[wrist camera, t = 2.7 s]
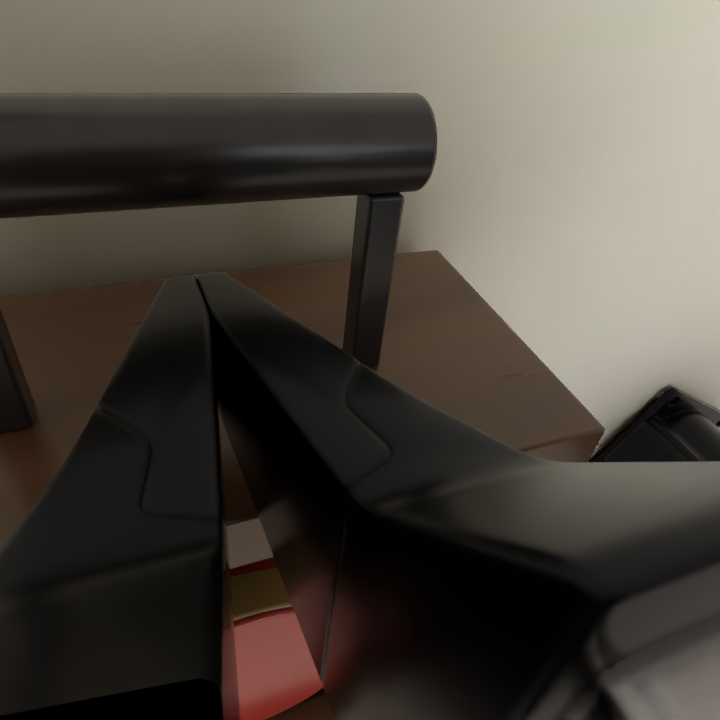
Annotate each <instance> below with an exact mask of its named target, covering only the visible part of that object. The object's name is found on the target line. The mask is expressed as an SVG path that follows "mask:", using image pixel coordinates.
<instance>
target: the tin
mask: <svg viewBox="0 0 720 720" xmlns="http://www.w3.org/2000/svg"><path fill="white" fill-rule="evenodd" d="M230 579H231V593H232V607H233V621H234V635H235V649H236V663H237V677H238V691H239V705H240V719H241V720H265V719H268V718H270V717H272V716H274V715H277V714H279V713H281V712H283V711H285V710H287V709H289V708H291V707H293V706H295V705H296V704H298V703H300V702H302V701H303V700H305V699H307V698H308V697H310V696H311V695H313V694H315V693H316V692H317V691H319V690H320V689H322V688H323V682H321V680H320V678H319V675H318V672H317V670H316V667H315V664H314V662H313V659H312V657H311V654H310V651H309V649H308V646H307V643H306V641H305V638H304V635H303V633H302V630H301V627H300V625H299V622H298V620H297V617H296V614H295V612H294V609H293V606H292V604H291V601H290V598H289V596H288V593H287V590H286V588H285V585H284V583H283V580H282V577H281V575H280V572H279V569H278V567H277V564H276V561H275V559H274V557H272V558H268V559H265V560H261V561H257V562H254V563H250V564H247V565H243V566H240V567H236V568H232V569H230Z"/></svg>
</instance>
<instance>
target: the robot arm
mask: <svg viewBox="0 0 720 720" xmlns="http://www.w3.org/2000/svg"><path fill="white" fill-rule="evenodd" d="M218 408H219V412H220V415H221V418H222V421H223V424H224V427H225V429H226V432H227V435H228V437H229V440H230V443H231V445H232V448H233V451H234V453H235V456H236V458H237V461H238V464H239V466H240V469H241V472H242V474H243V477H244V480H245V482H246V485H247V488H248V490H249V493H250V495H251V498H252V501H253V503H254V506H255V509H256V511H257V514H258V517H259V519H260V522H261V524H262V527H263V530H264V532H265V535H266V538H267V540H268V543H269V546H270V548H271V551H272V554H273V556H274V559H275V561H276V564H277V567H278V569H279V572H280V575H281V577H282V580H283V583H284V585H285V588H286V590H287V593H288V596H289V598H290V601H291V604H292V606H293V609H294V612H295V614H296V617H297V620H298V622H299V625H300V627H301V630H302V633H303V635H304V638H305V641H306V643H307V646H308V649H309V651H310V654H311V657H312V659H313V662H314V664H315V667H316V670H317V672H318V675H319V678H320V680H321V682H323V689H324V691H325V694H326V697H327V699H328V702H329V704H330V707H331V710H332V712H333V715H334V718H335V720H720V429H719V428H720V410H718V409H716V408H714V407H712V406H710V405H708V404H706V403H704V402H702V401H700V400H698V399H697V398H695V397H693V396H691V395H689V394H687V393H685V392H683V391H681V390H679V389H677V388H670V389H669V390H667V391H666V392H664V393H663V394H662V395H661V396H660V397H659V398H658V399H657V400H656V401H655V402H654V403H653V404H652V405H651V406H650V407H649V408H648V409H647V410H646V411H644V412H643V413H642V414H641V415H640V416H639V417H638V418H637V419H636V420H635V421H634V422H633V423H632V424H631V425H630V426H629V427H628V428H627V429H626V430H625V431H624V432H623V433H622V434H621V435H620V436H619V437H618V438H617V439H616V440H615V441H613V442H612V443H611V444H610V445H609V446H608V447H607V448H606V449H605V450H604V451H603V452H602V453H601V454H600V455H599V456H598V457H597V458H596V459H595V460H594V461H593V462H575V463H573V462H559V461H552V460H547V459H543V458H539V457H535V456H532V455H530V454H527V453H524V452H522V451H520V450H517V449H515V448H513V447H511V446H509V445H507V444H505V443H503V442H501V441H500V440H498V439H496V438H494V437H492V436H490V435H488V434H486V433H484V432H482V431H480V430H478V429H477V428H475V427H473V426H471V425H469V424H467V423H465V422H463V421H461V420H459V419H457V418H456V417H454V416H452V415H450V414H448V413H446V412H444V411H442V410H440V409H438V408H436V407H435V406H433V405H431V404H429V403H427V402H426V401H424V400H422V399H420V398H418V397H416V396H415V395H413V394H411V393H409V392H407V391H406V390H404V389H402V388H401V387H399V386H398V385H396V384H394V383H393V382H391V381H390V380H388V379H386V378H385V377H383V376H381V375H380V374H378V373H377V372H375V371H374V370H372V369H371V368H369V367H368V366H366V365H365V364H363V363H361V364H360V363H359V361H358V360H357V359H355V358H354V357H352V356H351V355H349V354H348V353H346V352H345V351H343V350H342V349H340V348H339V347H337V346H336V345H334V344H332V343H331V342H329V341H328V340H326V339H325V338H323V337H322V336H320V335H319V334H317V333H316V332H314V331H313V330H311V329H310V328H308V327H307V326H305V325H304V324H302V323H301V322H299V321H298V320H296V319H295V318H293V317H292V316H290V315H289V314H287V313H285V312H284V311H282V310H281V309H279V308H278V307H276V306H275V305H273V304H272V303H270V302H269V301H267V300H266V299H264V298H263V297H261V296H260V295H258V294H257V293H255V292H254V291H252V290H251V289H249V288H248V287H246V286H245V285H243V284H242V283H240V282H238V281H237V280H235V279H234V278H232V277H231V276H229V275H228V274H226V273H225V272H221V271H219V272H209V273H201V274H198V275H197V276H196V278H195V277H194V276H193V275H181V276H172V277H167V278H166V279H165V281H164V282H163V284H162V286H161V288H160V290H159V292H158V294H157V295H156V297H155V299H154V301H153V303H152V305H151V307H150V308H149V310H148V312H147V314H146V316H145V318H144V320H143V321H142V323H141V325H140V327H139V329H138V331H137V333H136V334H135V336H134V338H133V340H132V342H131V344H130V345H129V347H128V349H127V351H126V353H125V355H124V357H123V358H122V360H121V362H120V364H119V366H118V368H117V370H116V371H115V373H114V375H113V377H112V379H111V381H110V383H109V384H108V386H107V388H106V390H105V392H104V394H103V396H102V397H101V399H100V401H99V403H98V405H97V407H96V410H95V411H94V412H93V413H92V415H91V417H90V419H89V421H88V423H87V425H86V427H85V428H84V430H83V432H82V434H81V435H80V437H79V439H78V440H77V442H76V444H75V445H74V447H73V449H72V450H71V452H70V454H69V456H68V457H67V459H66V460H65V462H64V463H63V465H62V466H61V467H60V469H59V470H58V472H57V473H56V475H55V476H54V477H53V479H52V480H51V482H50V483H49V485H48V486H47V487H46V489H45V490H44V492H43V493H42V494H41V496H40V497H39V498H38V500H37V501H36V502H35V504H34V505H33V506H32V508H31V509H30V510H29V512H28V513H27V515H26V516H25V517H24V519H23V520H22V521H21V523H20V524H19V525H18V527H17V528H16V529H15V531H14V532H13V533H12V535H11V536H10V537H9V539H8V540H7V541H6V543H5V544H4V545H3V547H2V548H1V549H0V720H241V719H240V705H239V691H238V677H237V663H236V649H235V635H234V621H233V607H232V593H231V579H230V565H229V551H228V537H227V523H226V509H225V495H224V481H223V467H222V453H221V439H220V425H219V414H218Z"/></svg>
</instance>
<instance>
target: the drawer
mask: <svg viewBox="0 0 720 720" xmlns="http://www.w3.org/2000/svg"><path fill="white" fill-rule="evenodd" d="M436 153H437V130H436V123H435V118H434V114H433V111H432V109H431V106H430V104H429V103H428V101H427V100H426V99H425V98H424V97H423V96H421V95H419V94H417V93H78V94H0V219H2V218H17V217H33V216H48V215H63V214H78V213H93V212H108V211H124V210H139V209H154V208H169V207H184V206H199V205H215V204H230V203H245V202H260V201H275V200H290V199H306V198H321V197H336V196H351V195H358V196H357V206H356V217H355V227H354V237H353V247H352V257H351V259H349V260H339V261H330V262H320V263H311V264H302V265H292V266H283V267H273V268H264V269H254V270H245V271H236V272H226V274H228V275H229V276H231V277H232V278H234V279H235V280H237V281H238V282H240V283H242V284H243V285H245V286H246V287H248V288H249V289H251V290H252V291H254V292H255V293H257V294H258V295H260V296H261V297H263V298H264V299H266V300H267V301H269V302H270V303H272V304H273V305H275V306H276V307H278V308H279V309H281V310H282V311H284V312H285V313H287V314H289V315H290V316H292V317H293V318H295V319H296V320H298V321H299V322H301V323H302V324H304V325H305V326H307V327H308V328H310V329H311V330H313V331H314V332H316V333H317V334H319V335H320V336H322V337H323V338H325V339H326V340H328V341H329V342H331V343H332V344H334V345H336V346H337V347H339V348H340V349H342V350H343V351H345V352H346V353H348V354H349V355H351V356H352V357H354V358H355V359H357V360H358V361H359V363H360V364H361V363H363V364H365V365H366V366H368V367H369V368H371V369H372V370H374V371H375V372H377V373H378V374H380V375H381V376H383V377H385V378H386V379H388V380H390V381H391V382H393V383H394V384H396V385H398V386H399V387H401V388H402V389H404V390H406V391H407V392H409V393H411V394H413V395H415V396H416V397H418V398H420V399H422V400H424V401H426V402H427V403H429V404H431V405H433V406H435V407H436V408H438V409H440V410H442V411H444V412H446V413H448V414H450V415H452V416H454V417H456V418H457V419H459V420H461V421H463V422H465V423H467V424H469V425H471V426H473V427H475V428H477V429H478V430H480V431H482V432H484V433H486V434H488V435H490V436H492V437H494V438H496V439H498V440H500V441H501V442H503V443H505V444H507V445H509V446H511V447H513V448H515V449H517V450H520V451H522V452H524V453H527V454H530V455H532V456H535V457H539V458H543V459H547V460H552V461H559V462H573V463H575V462H588V461H589V459H590V457H591V455H592V454H593V452H594V450H595V448H596V446H597V444H598V442H599V440H600V438H601V437H602V435H603V433H604V430H605V429H604V427H603V426H602V425H601V424H600V423H599V422H598V420H597V419H596V418H595V417H594V416H593V415H592V414H591V413H590V412H589V411H588V410H587V409H586V408H585V407H584V406H583V405H582V403H581V402H580V401H579V400H578V399H577V398H576V397H575V396H574V395H573V394H572V393H571V392H570V391H569V390H568V389H567V387H566V386H565V385H564V384H563V383H562V382H561V381H560V380H559V379H558V378H557V377H556V376H555V375H554V374H553V373H552V372H551V370H550V369H549V368H548V367H547V366H546V365H545V364H544V363H543V362H542V361H541V360H540V359H539V358H538V357H537V356H536V355H535V353H534V352H533V351H532V350H531V349H530V348H529V347H528V346H527V345H526V344H525V343H524V342H523V341H522V340H521V339H520V337H519V336H518V335H517V334H516V333H515V332H514V331H513V330H512V329H511V328H510V327H509V326H508V325H507V324H506V323H505V322H504V320H503V319H502V318H501V317H500V316H499V315H498V314H497V313H496V312H495V311H494V310H493V309H492V308H491V307H490V306H489V304H488V303H487V302H486V301H485V300H484V299H483V298H482V297H481V296H480V295H479V294H478V293H477V292H476V291H475V290H474V289H473V287H472V286H471V285H470V284H469V283H468V282H467V281H466V280H465V279H464V278H463V277H462V276H461V275H460V274H459V273H458V272H457V270H456V269H455V268H454V267H453V266H452V265H451V264H450V263H449V262H448V261H447V260H446V259H445V258H444V257H443V256H442V254H441V253H440V252H439V251H437V250H434V251H424V252H415V253H405V254H396V249H397V242H398V235H399V229H400V222H401V216H402V209H403V203H404V197H403V195H402V194H401V193H400V192H412V191H417V190H419V189H421V188H422V187H424V186H425V185H426V184H427V182H428V181H429V179H430V177H431V174H432V172H433V168H434V165H435V160H436ZM194 277H195V278H196V276H194ZM164 281H165V279H160V280H151V281H141V282H132V283H122V284H113V285H104V286H94V287H85V288H75V289H66V290H56V291H47V292H38V293H28V294H19V295H9V296H0V549H1V548H2V547H3V545H4V544H5V543H6V541H7V540H8V539H9V537H10V536H11V535H12V533H13V532H14V531H15V529H16V528H17V527H18V525H19V524H20V523H21V521H22V520H23V519H24V517H25V516H26V515H27V513H28V512H29V510H30V509H31V508H32V506H33V505H34V504H35V502H36V501H37V500H38V498H39V497H40V496H41V494H42V493H43V492H44V490H45V489H46V487H47V486H48V485H49V483H50V482H51V480H52V479H53V477H54V476H55V475H56V473H57V472H58V470H59V469H60V467H61V466H62V465H63V463H64V462H65V460H66V459H67V457H68V456H69V454H70V452H71V450H72V449H73V447H74V445H75V444H76V442H77V440H78V439H79V437H80V435H81V434H82V432H83V430H84V428H85V427H86V425H87V423H88V421H89V419H90V417H91V415H92V413H93V412H94V411H95V410H96V407H97V405H98V403H99V401H100V399H101V397H102V396H103V394H104V392H105V390H106V388H107V386H108V384H109V383H110V381H111V379H112V377H113V375H114V373H115V371H116V370H117V368H118V366H119V364H120V362H121V360H122V358H123V357H124V355H125V353H126V351H127V349H128V347H129V345H130V344H131V342H132V340H133V338H134V336H135V334H136V333H137V331H138V329H139V327H140V325H141V323H142V321H143V320H144V318H145V316H146V314H147V312H148V310H149V308H150V307H151V305H152V303H153V301H154V299H155V297H156V295H157V294H158V292H159V290H160V288H161V286H162V284H163V282H164ZM218 414H219V425H220V439H221V453H222V467H223V481H224V495H225V509H226V523H227V537H228V551H229V565H230V569H232V568H236V567H240V566H243V565H247V564H250V563H254V562H257V561H261V560H265V559H268V558H272V557H274V556H273V554H272V551H271V548H270V546H269V543H268V540H267V538H266V535H265V532H264V530H263V527H262V524H261V522H260V519H259V517H258V514H257V511H256V509H255V506H254V503H253V501H252V498H251V495H250V493H249V490H248V488H247V485H246V482H245V480H244V477H243V474H242V472H241V469H240V466H239V464H238V461H237V458H236V456H235V453H234V451H233V448H232V445H231V443H230V440H229V437H228V435H227V432H226V429H225V427H224V424H223V421H222V418H221V415H220V412H219V408H218ZM324 693H325V691H324V689H323V688H322V689H320V690H319V691H317V692H316V693H315V694H313V695H311V696H310V697H308V698H307V699H305V700H308V699H311V698H313V697H316V696H319V695H322V694H324ZM305 700H303V701H305ZM303 701H302V702H303Z"/></svg>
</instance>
